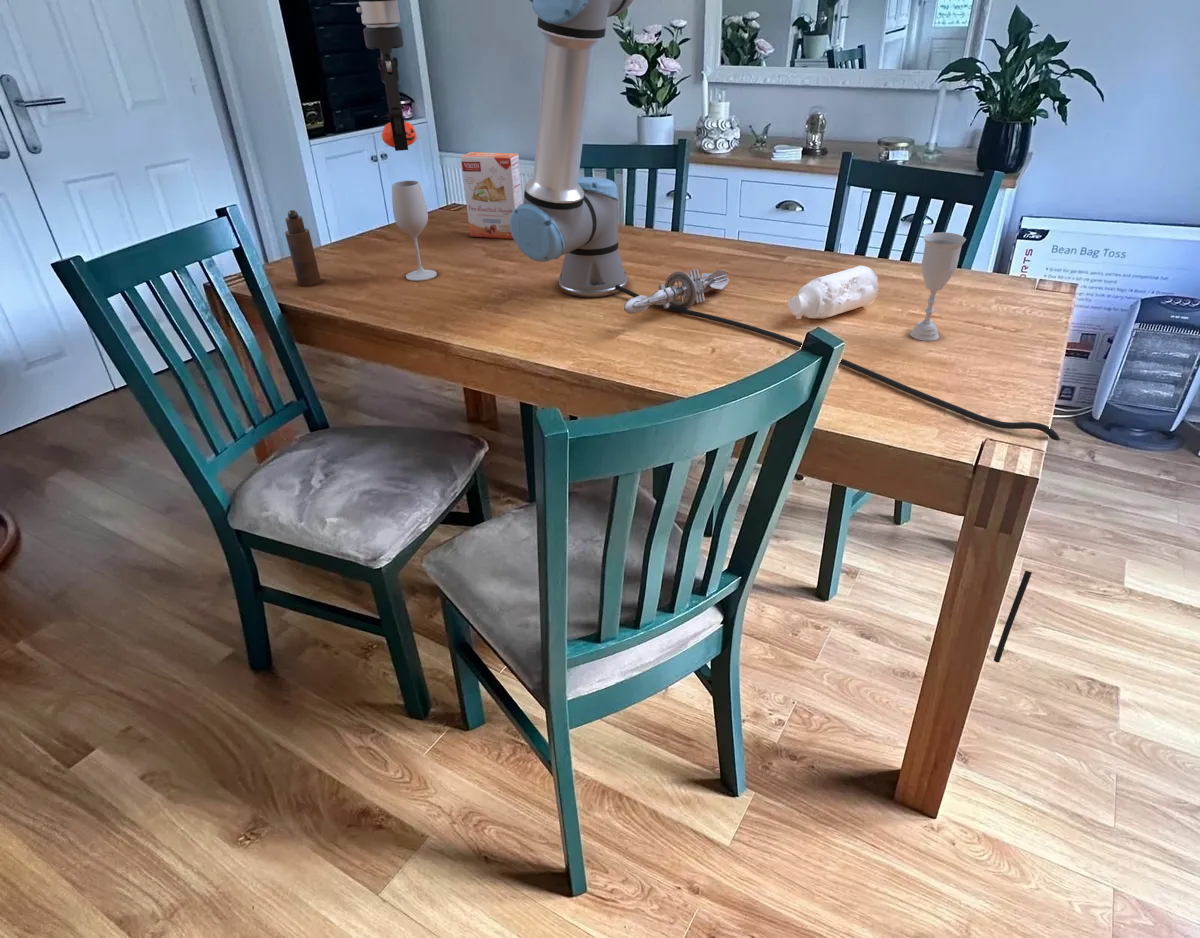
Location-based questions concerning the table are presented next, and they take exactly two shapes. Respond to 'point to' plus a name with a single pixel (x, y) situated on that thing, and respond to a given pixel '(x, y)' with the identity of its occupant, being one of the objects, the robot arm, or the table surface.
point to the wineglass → (411, 219)
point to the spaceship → (679, 291)
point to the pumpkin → (388, 134)
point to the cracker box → (491, 192)
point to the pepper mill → (301, 251)
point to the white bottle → (835, 293)
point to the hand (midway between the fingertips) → (400, 146)
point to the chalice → (937, 275)
